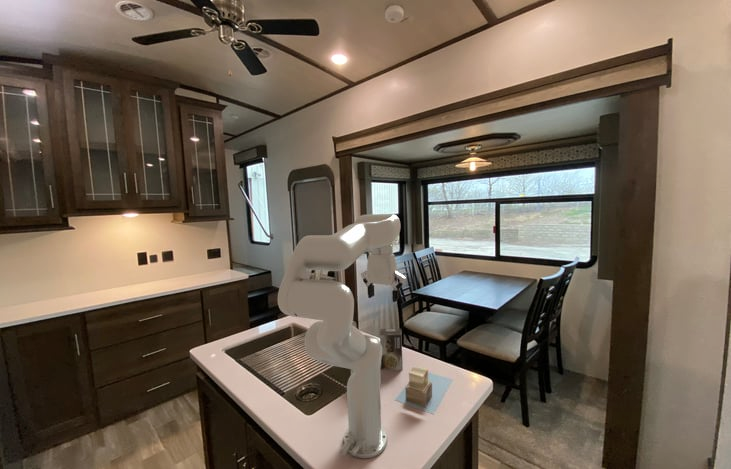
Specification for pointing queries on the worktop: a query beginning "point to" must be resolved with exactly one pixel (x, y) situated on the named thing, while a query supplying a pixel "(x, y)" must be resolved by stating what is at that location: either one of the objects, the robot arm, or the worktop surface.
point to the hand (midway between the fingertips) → (383, 298)
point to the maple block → (418, 378)
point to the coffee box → (391, 349)
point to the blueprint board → (436, 393)
